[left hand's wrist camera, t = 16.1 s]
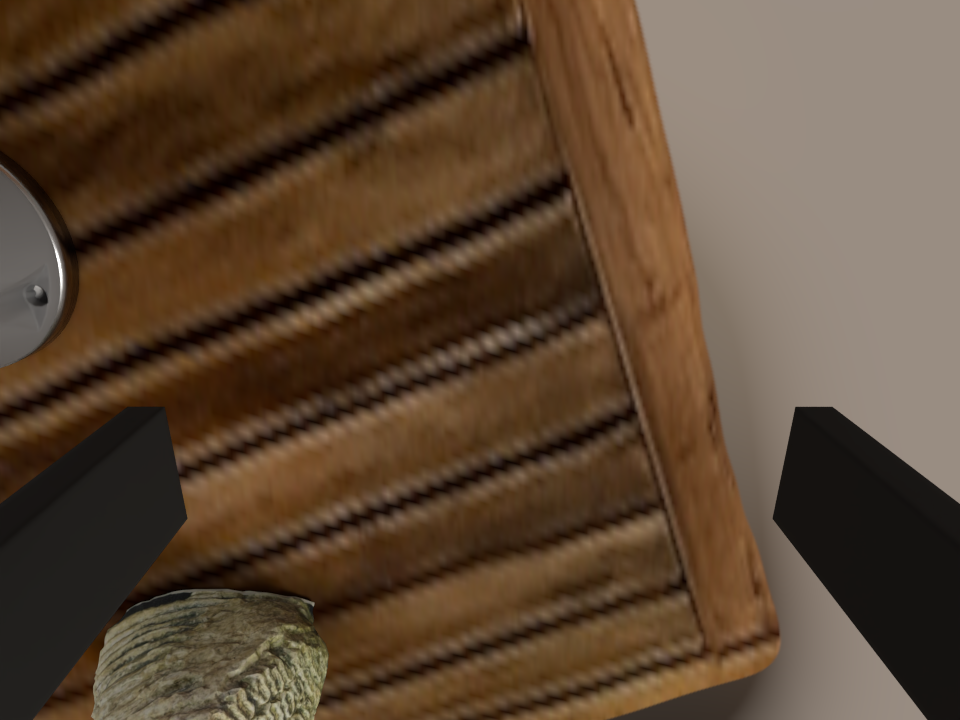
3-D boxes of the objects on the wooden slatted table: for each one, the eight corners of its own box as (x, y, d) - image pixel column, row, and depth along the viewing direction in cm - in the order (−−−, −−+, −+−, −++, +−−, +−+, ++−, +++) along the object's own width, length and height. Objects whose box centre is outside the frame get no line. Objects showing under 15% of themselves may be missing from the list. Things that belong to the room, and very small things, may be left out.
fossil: (355, 638, 50) (305, 835, 36) (154, 682, 52) (32, 885, 38) (317, 555, 47) (247, 733, 33) (105, 604, 49) (-48, 793, 35)
